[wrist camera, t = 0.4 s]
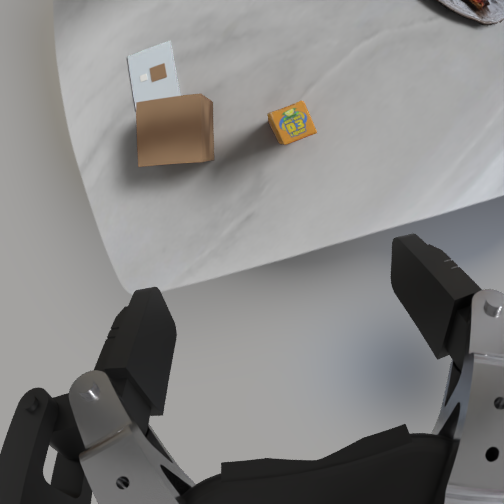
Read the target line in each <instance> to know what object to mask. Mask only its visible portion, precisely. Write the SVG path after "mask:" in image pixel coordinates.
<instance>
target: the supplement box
mask: <svg viewBox="0 0 504 504" xmlns="http://www.w3.org/2000/svg"><path fill="white" fill-rule="evenodd" d="M267 115H268V122H269V124H270V126H271V128H272V130H273V132H274V134H275V136H276V138H277V140H278V142H279V144H284V145H286V144H289V143H292V142H295V141H297V140H300V139H302V138H305V137H308V136H310V135H313V134H316V133H317V131H316V129H315V126H314V124H313V121H312V119H311V117H310V114H309V112H308V110H307V108H306V105H305V103H304V101H299V102H297V103H295V104H292V105H290V106H287V107H284V108H282V109H279V110H276V111H273V112H270V113H268V114H267Z"/></svg>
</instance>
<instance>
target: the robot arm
mask: <svg viewBox="0 0 504 504" xmlns="http://www.w3.org/2000/svg"><path fill="white" fill-rule="evenodd" d="M391 284H392V288H393V290H394V293H395V294H396V296H397V297H398V299H399V300H400V302H401V303H402V304H403V306H404V307H405V309H406V311H407V312H408V314H409V315H410V317H411V318H412V320H413V321H414V323H415V324H416V326H417V327H418V328H419V330H420V332H421V334H422V335H423V337H424V339H425V340H426V342H427V343H428V345H429V347H430V348H431V350H432V351H433V353H434V355H435V356H436V358H437V359H440V358H442V357H445V356H447V355H450V356H451V358H452V362H451V364H450V369H449V374H448V379H447V384H446V389H445V394H444V398H443V402H442V407H441V410H440V414H439V417H438V419H437V422H436V424H435V426H434V429H433V431H432V434H426V433H413V434H409V432H408V429H407V427H406V424H404V425H401V426H398V427H395V428H392V429H389V430H386V431H383V432H380V433H377V434H374V435H371V436H368V437H364V438H362V439H360V440H358V441H356V442H355V443H353V444H351V445H349V446H347V447H345V448H343V449H341V450H339V451H337V452H335V453H333V454H331V455H329V456H327V457H324V458H323V459H320V460H313V461H311V460H286V459H271V458H265V459H256V460H247V461H236V462H224V463H221V474H218V475H215V476H213V477H210V478H207V479H205V480H203V481H202V482H200V483H198V484H195V483H194V482H193V481H192V480H191V479H190V478H189V477H188V476H187V475H186V474H185V473H184V472H183V470H182V469H181V468H180V467H179V466H178V465H177V463H176V462H175V460H174V459H173V458H172V456H171V455H170V454H169V452H168V451H167V450H166V448H165V447H164V445H163V444H162V442H161V441H160V440H159V438H158V437H157V435H156V434H155V432H154V431H153V429H152V428H151V426H150V425H149V424H148V423H149V417H150V416H157V415H158V416H160V415H163V411H164V405H165V399H166V393H167V387H168V381H169V375H170V370H171V364H172V359H173V353H174V348H175V342H176V336H177V334H176V326H175V323H174V320H173V318H172V316H171V314H170V312H169V310H168V307H167V305H166V303H165V301H164V299H163V296H162V294H161V292H160V290H159V289H158V288H157V287H151V288H146V289H141V290H136V291H135V292H134V294H133V296H132V298H131V301H130V303H129V305H128V306H127V307H124V309H123V310H122V311H121V312H120V313H119V314H118V316H116V318H115V321H114V322H113V325H112V327H111V330H110V332H109V334H108V336H107V338H108V339H107V340H106V341H105V344H104V346H103V349H102V351H101V354H100V356H99V358H98V361H97V363H96V366H95V369H94V371H89V372H86V373H85V374H82V375H81V376H80V377H78V378H77V380H75V381H74V383H73V384H72V386H71V388H70V391H69V393H68V394H64V395H61V396H58V397H54V398H52V397H51V396H50V395H49V394H48V393H47V392H46V391H45V390H44V389H42V388H34V389H32V390H29V391H28V392H27V393H26V394H25V395H24V396H23V397H22V398H21V400H20V402H19V403H18V406H17V408H16V411H15V414H14V416H13V419H12V421H11V424H10V427H9V430H8V432H7V435H6V438H5V441H4V444H3V447H2V450H1V454H0V504H91V497H92V492H93V494H94V496H95V498H96V500H97V502H98V504H504V294H503V293H501V292H499V291H497V290H491V289H485V290H482V289H481V288H480V287H479V286H478V285H477V284H476V283H475V282H474V281H473V280H472V279H471V278H470V277H469V276H468V275H467V274H466V273H465V272H464V271H463V270H462V269H461V268H460V267H458V265H457V264H456V263H454V261H453V260H452V261H451V258H449V257H448V256H447V255H446V254H445V253H444V252H443V251H442V250H440V249H438V248H436V247H434V246H432V245H430V244H429V245H427V244H426V243H425V242H424V241H423V240H422V239H420V238H419V237H418V236H417V235H416V234H409V235H405V236H400V237H396V238H394V239H393V242H392V263H391ZM49 445H50V446H51V447H52V448H54V449H55V450H56V451H58V453H57V457H56V461H55V466H54V470H53V475H52V480H51V485H50V484H48V483H47V482H46V480H45V478H44V476H43V466H44V462H45V458H46V454H47V450H48V447H49Z"/></svg>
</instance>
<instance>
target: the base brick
mask: <svg viewBox="0 0 504 504" xmlns="http://www.w3.org/2000/svg"><path fill="white" fill-rule="evenodd" d="M136 122H137V151H138V167H143V166H154V165H165V164H179V163H194V162H205V161H210V160H214V135H213V102H212V101H211V100H209V99H208V98H206V97H205V96H203V95H202V94H192V95H183V96H175V97H168V98H161V99H154V100H148V101H142V102H136Z"/></svg>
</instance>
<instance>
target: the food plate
mask: <svg viewBox="0 0 504 504" xmlns="http://www.w3.org/2000/svg"><path fill="white" fill-rule="evenodd" d="M437 1H439V2H440V3H441V4H442V5H444V6H445V7H446V8H447V9H449V10H451V11H453V12H455V13H456V14H458V15H460V16H463V17H465V18H468V19H472V20H474V21H477V22H479V23H480V24H482V25H490V26H491V25H492V24H497V23H498V22H502V20H504V0H437ZM491 23H492V24H491Z"/></svg>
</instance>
